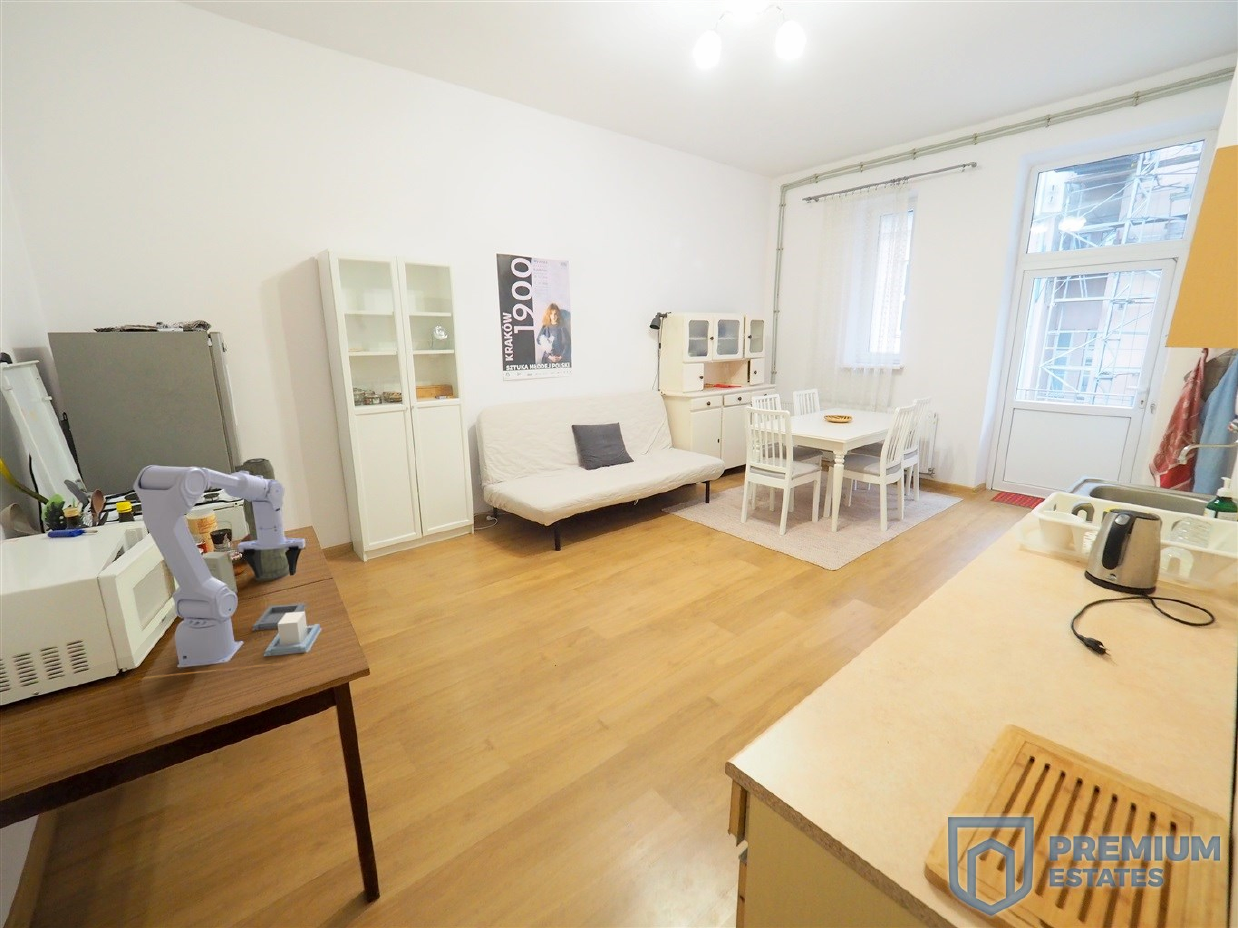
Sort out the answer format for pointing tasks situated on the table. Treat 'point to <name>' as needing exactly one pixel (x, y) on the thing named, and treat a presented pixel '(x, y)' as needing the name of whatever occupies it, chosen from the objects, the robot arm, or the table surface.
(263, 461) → the olive tall rounded block
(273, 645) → the front socket
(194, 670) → the table surface
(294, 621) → the white rectangular block
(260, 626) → the rear socket
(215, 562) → the skincare box
